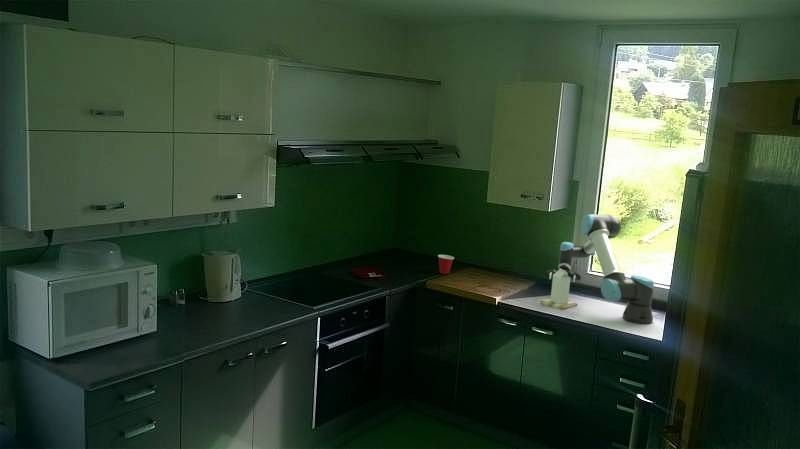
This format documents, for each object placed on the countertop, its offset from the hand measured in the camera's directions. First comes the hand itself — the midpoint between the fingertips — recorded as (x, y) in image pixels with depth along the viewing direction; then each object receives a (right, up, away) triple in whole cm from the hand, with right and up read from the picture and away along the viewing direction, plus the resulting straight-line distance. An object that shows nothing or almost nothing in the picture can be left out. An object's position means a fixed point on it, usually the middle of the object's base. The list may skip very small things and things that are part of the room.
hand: (562, 278), depth 364 cm
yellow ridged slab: (-4, -14, -7) cm, 16 cm away
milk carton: (-4, -13, -7) cm, 15 cm away
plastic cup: (-64, -1, +49) cm, 81 cm away
